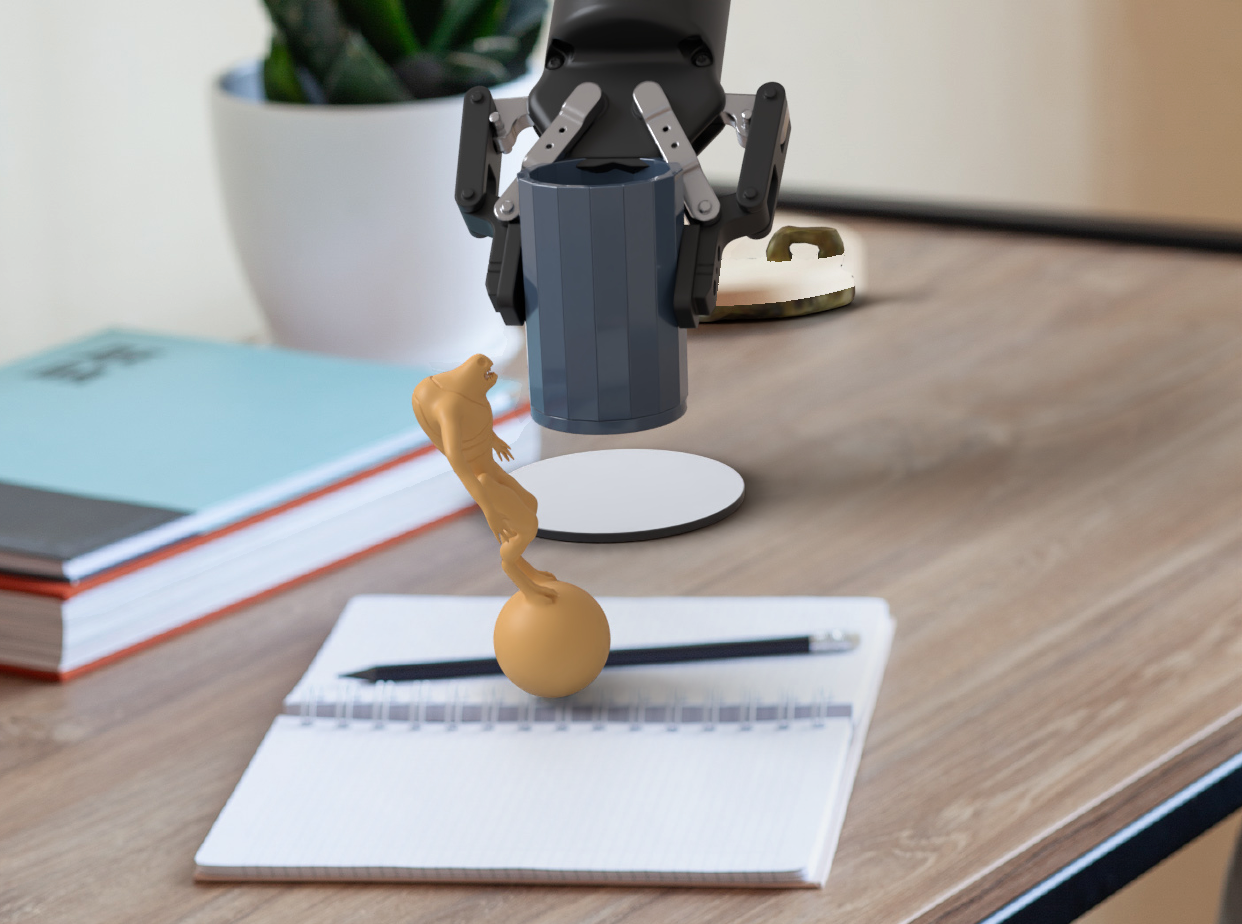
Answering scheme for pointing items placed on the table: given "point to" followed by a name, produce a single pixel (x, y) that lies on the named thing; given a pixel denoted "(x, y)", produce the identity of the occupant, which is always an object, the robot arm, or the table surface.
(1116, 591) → the table surface
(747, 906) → the table surface
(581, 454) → the coaster
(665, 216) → the cup
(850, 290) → the seal
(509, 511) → the figurine
